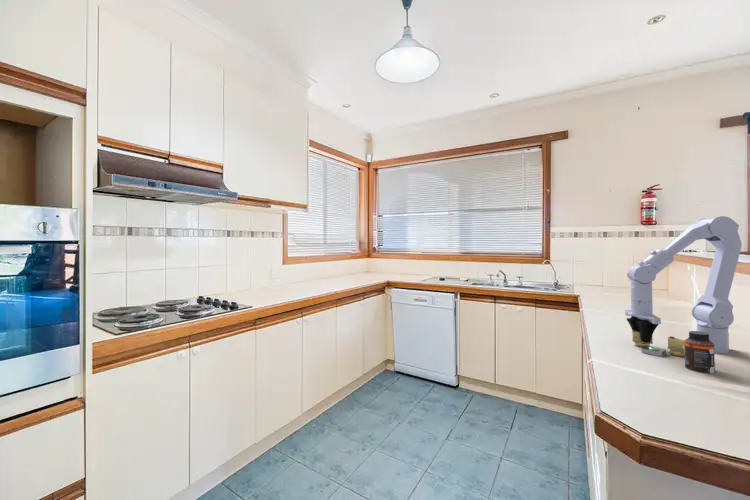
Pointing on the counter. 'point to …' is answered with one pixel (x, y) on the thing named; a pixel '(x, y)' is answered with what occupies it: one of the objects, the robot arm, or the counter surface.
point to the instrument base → (654, 351)
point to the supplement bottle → (699, 352)
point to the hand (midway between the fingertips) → (642, 340)
